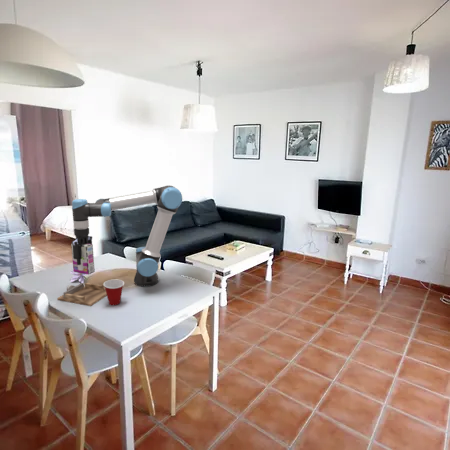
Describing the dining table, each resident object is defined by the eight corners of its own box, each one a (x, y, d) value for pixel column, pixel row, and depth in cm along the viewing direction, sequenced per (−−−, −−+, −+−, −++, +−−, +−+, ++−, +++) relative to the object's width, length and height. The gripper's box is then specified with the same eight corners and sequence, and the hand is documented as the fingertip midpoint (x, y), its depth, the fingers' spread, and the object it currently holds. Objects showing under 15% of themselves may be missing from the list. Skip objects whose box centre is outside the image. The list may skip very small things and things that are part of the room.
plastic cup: (114, 309, 166) (112, 288, 164) (100, 304, 172) (98, 283, 169) (129, 301, 176) (128, 281, 173) (115, 297, 181) (114, 277, 178)
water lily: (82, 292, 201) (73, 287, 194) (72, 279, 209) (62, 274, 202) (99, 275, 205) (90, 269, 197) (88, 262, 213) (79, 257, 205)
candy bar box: (95, 271, 178) (93, 243, 174) (88, 275, 174) (86, 246, 170) (79, 268, 182) (77, 241, 178) (73, 271, 177) (70, 243, 174)
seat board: (111, 292, 187) (111, 284, 185) (90, 306, 170) (90, 297, 169) (80, 287, 193) (79, 279, 191) (57, 300, 176) (56, 291, 174)
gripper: (87, 223, 182) (89, 262, 187) (63, 230, 165) (66, 273, 170) (98, 225, 180) (100, 263, 185) (75, 232, 163) (78, 274, 168)
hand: (84, 268), depth 177 cm, fingers closed on candy bar box, 5 cm apart
